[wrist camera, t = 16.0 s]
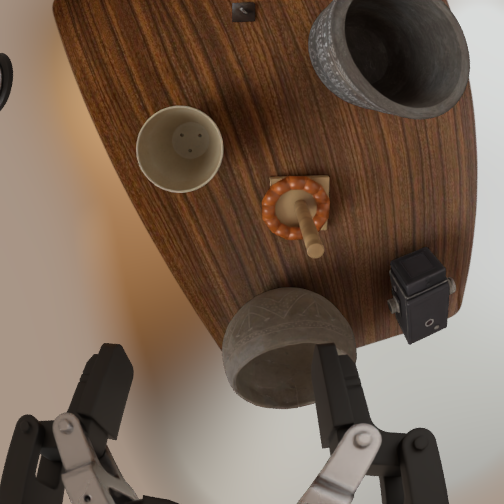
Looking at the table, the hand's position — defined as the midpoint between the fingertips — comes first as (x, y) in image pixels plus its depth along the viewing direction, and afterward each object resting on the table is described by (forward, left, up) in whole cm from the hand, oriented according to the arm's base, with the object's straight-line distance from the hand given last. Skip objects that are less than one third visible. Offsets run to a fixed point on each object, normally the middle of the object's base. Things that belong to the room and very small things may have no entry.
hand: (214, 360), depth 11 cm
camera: (+27, -20, -31) cm, 46 cm away
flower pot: (-7, +4, -31) cm, 32 cm away
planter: (+15, +15, -31) cm, 38 cm away
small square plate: (+1, +21, -31) cm, 37 cm away
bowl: (+5, -27, -31) cm, 42 cm away
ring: (+7, -6, -29) cm, 30 cm away
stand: (+7, -6, -31) cm, 32 cm away
